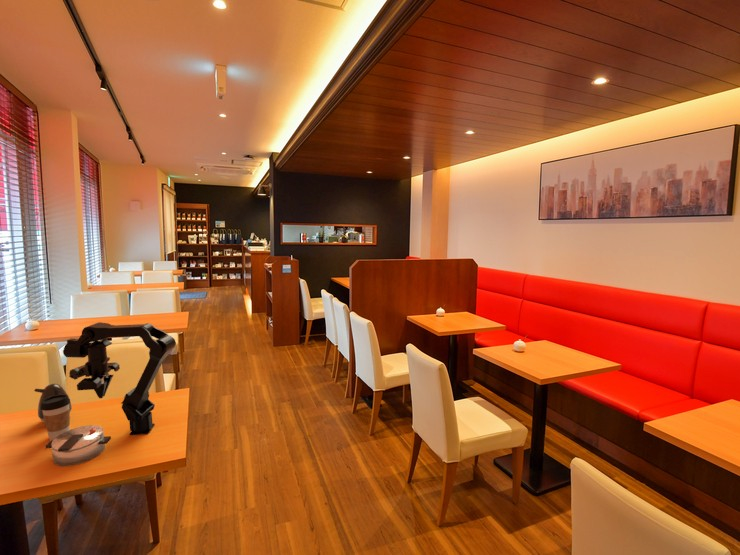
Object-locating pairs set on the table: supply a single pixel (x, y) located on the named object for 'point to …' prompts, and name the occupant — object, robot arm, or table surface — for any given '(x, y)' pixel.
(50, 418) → the coffee cup
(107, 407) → the table surface
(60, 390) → the pump dispenser
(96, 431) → the lid
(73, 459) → the pot
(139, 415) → the robot arm
